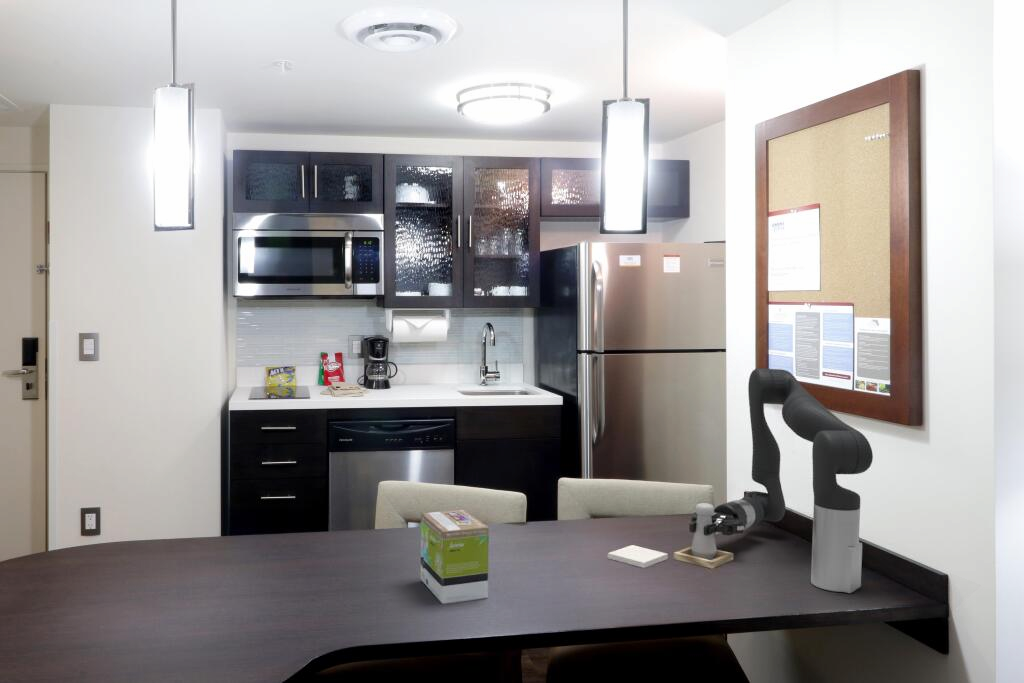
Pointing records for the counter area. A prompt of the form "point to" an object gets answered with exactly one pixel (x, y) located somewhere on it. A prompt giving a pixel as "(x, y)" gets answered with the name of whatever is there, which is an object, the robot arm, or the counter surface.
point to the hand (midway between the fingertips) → (698, 529)
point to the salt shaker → (702, 543)
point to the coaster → (637, 556)
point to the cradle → (686, 557)
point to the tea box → (454, 556)
